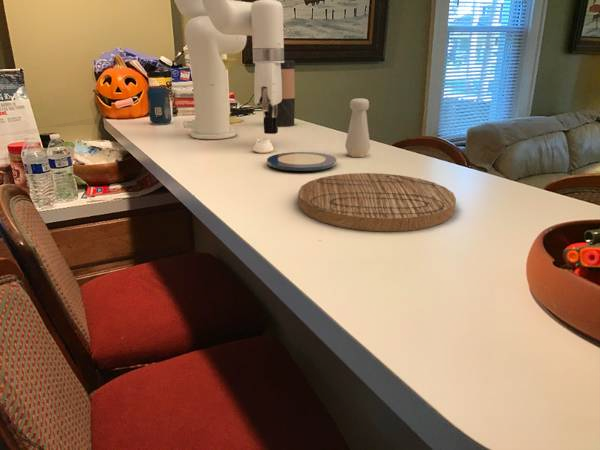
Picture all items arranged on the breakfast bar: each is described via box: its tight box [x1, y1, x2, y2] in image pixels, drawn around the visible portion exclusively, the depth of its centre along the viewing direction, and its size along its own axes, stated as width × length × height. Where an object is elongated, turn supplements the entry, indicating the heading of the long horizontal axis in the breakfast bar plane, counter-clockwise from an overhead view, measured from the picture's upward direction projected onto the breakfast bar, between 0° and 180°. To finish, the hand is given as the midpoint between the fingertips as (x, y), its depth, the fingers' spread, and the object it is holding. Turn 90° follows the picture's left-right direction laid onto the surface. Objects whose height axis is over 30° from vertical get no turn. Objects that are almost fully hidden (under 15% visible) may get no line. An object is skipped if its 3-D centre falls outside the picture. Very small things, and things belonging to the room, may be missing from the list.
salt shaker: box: [345, 97, 371, 158], centre depth 109 cm, size 6×6×13 cm
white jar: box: [252, 137, 275, 154], centre depth 115 cm, size 5×3×5 cm
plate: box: [266, 151, 337, 172], centre depth 102 cm, size 15×15×1 cm
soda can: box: [146, 85, 172, 126], centre depth 156 cm, size 7×7×12 cm
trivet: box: [297, 172, 457, 232], centre depth 76 cm, size 25×25×2 cm
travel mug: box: [277, 59, 296, 127], centre depth 151 cm, size 8×8×20 cm
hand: (271, 133), depth 120 cm, fingers closed
